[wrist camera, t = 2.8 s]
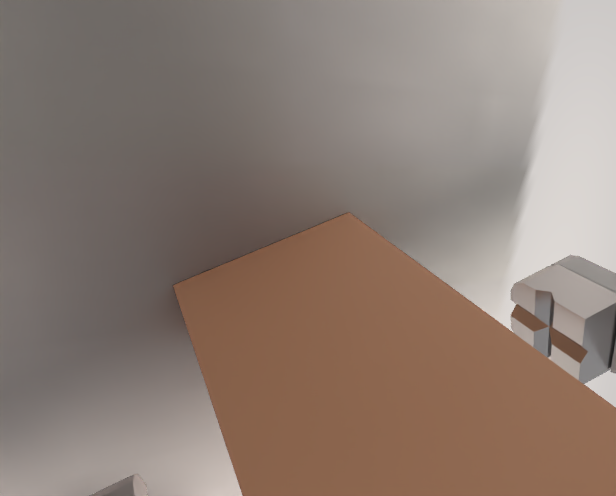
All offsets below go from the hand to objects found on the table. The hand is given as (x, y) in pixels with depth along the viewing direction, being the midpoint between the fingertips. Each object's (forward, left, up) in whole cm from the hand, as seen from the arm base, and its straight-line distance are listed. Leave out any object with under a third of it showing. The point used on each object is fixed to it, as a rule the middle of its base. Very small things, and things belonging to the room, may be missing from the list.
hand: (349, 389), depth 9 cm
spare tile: (0, 0, -4) cm, 4 cm away
